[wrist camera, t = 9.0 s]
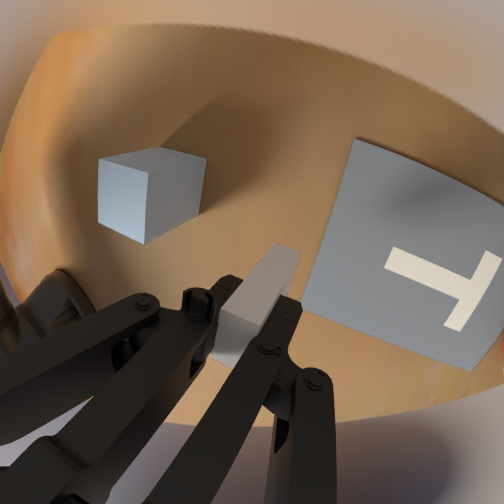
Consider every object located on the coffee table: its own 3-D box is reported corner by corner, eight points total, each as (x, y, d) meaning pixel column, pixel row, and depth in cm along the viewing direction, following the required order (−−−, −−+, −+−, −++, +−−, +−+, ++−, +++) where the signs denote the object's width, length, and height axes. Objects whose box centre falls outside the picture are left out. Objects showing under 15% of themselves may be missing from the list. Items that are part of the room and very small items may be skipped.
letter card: (299, 305, 24) (297, 307, 24) (354, 138, 18) (353, 138, 17) (470, 369, 20) (470, 372, 19) (551, 237, 13) (553, 238, 13)
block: (154, 199, 26) (98, 222, 20) (160, 147, 24) (98, 158, 18) (198, 215, 25) (144, 244, 19) (207, 158, 23) (148, 173, 17)
